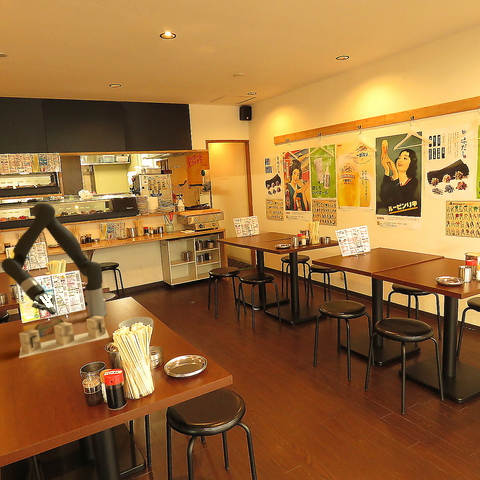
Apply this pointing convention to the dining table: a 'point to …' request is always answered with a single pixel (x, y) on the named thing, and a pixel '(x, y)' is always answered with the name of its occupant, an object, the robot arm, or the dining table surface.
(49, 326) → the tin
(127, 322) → the cereal bowl
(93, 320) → the marked block 1
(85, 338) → the board
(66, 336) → the plain block
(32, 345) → the marked block 7
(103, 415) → the dining table surface
